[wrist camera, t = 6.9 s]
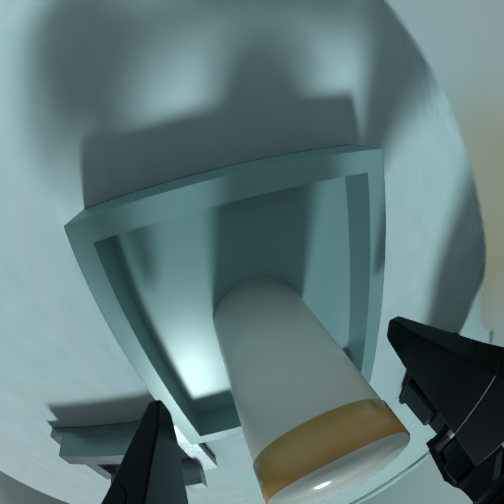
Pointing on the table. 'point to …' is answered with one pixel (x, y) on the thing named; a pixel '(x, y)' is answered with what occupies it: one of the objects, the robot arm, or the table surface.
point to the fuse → (300, 397)
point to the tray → (235, 266)
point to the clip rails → (115, 446)
